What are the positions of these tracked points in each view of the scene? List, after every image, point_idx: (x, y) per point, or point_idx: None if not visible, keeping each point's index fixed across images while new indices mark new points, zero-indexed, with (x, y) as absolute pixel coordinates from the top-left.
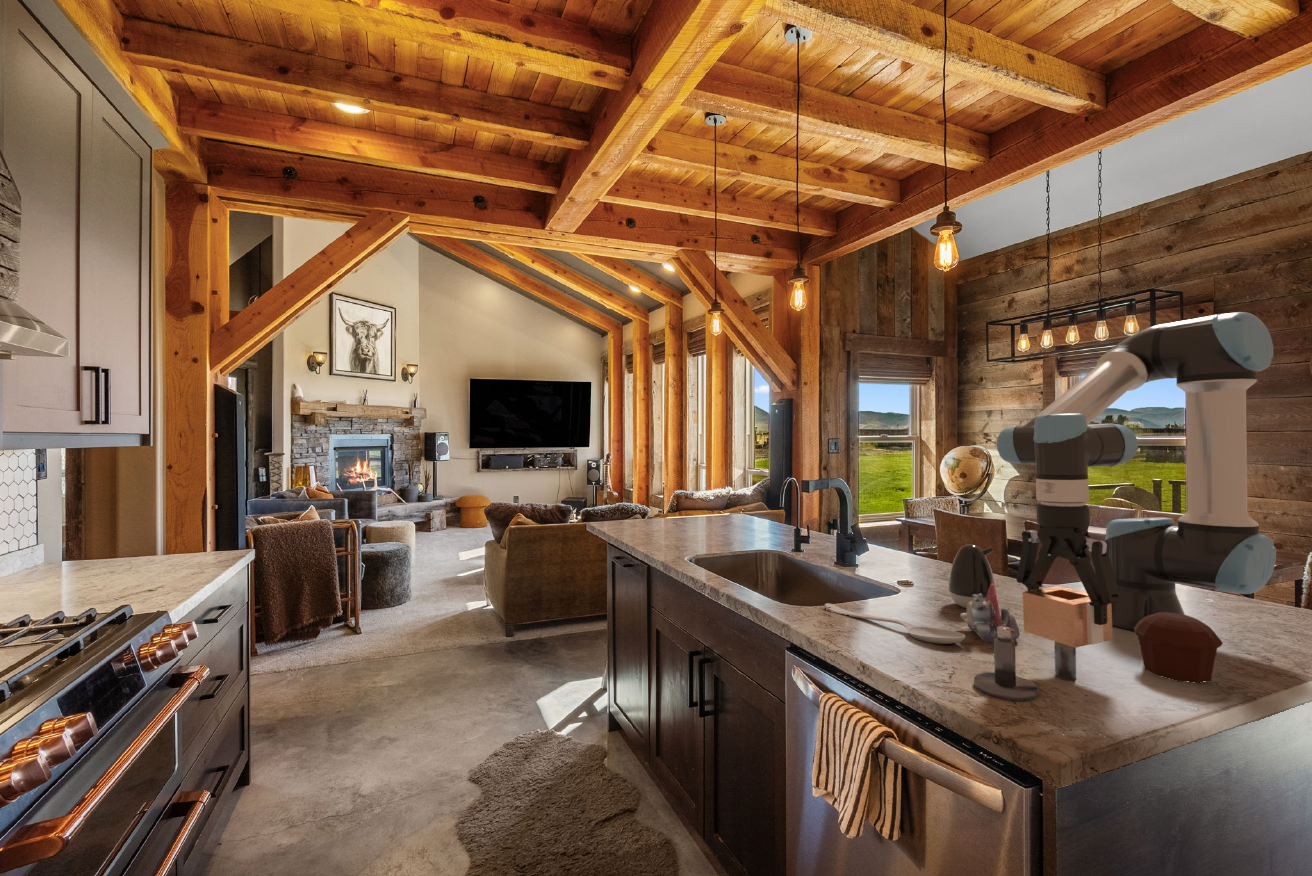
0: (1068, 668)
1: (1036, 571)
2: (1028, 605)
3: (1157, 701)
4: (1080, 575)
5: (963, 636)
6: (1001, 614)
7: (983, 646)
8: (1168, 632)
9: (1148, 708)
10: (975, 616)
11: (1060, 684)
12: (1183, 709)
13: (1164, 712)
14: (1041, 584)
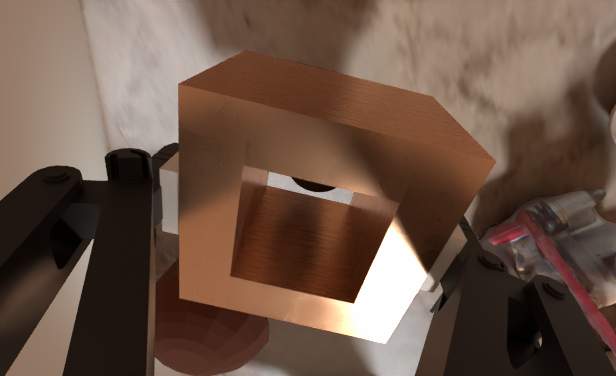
0: None
1: (473, 333)
2: (440, 127)
3: (166, 114)
4: (131, 293)
5: (613, 133)
6: None
7: (540, 157)
8: (181, 301)
9: (150, 58)
10: (611, 232)
11: (312, 43)
12: (126, 110)
13: (127, 63)
14: (437, 304)
